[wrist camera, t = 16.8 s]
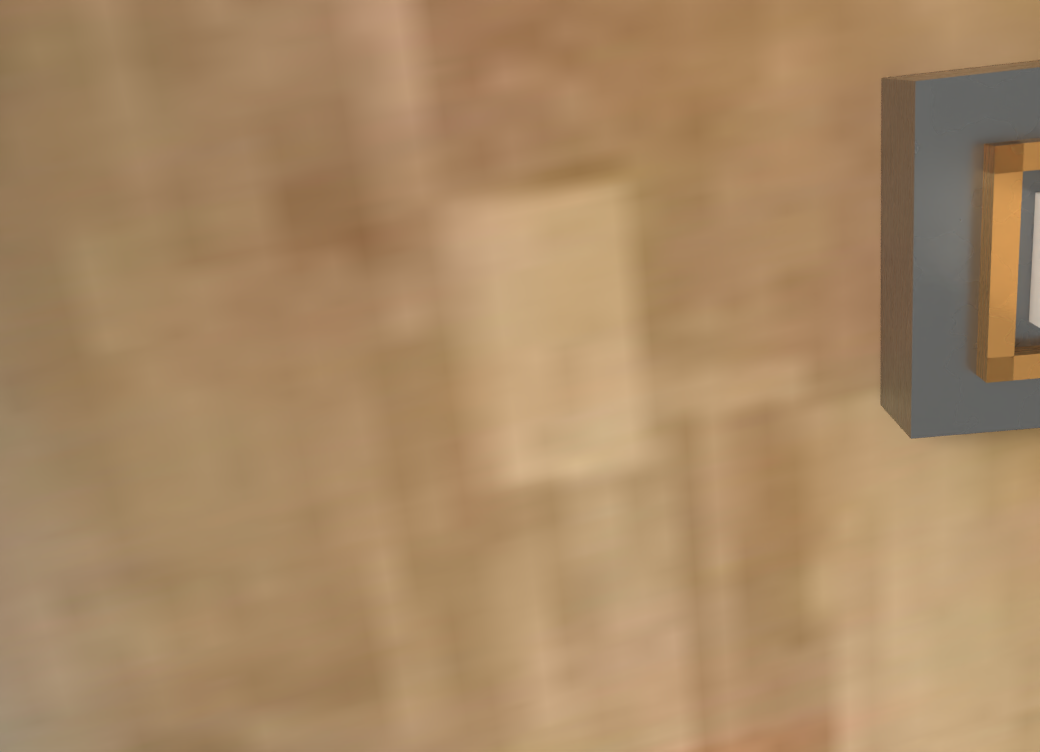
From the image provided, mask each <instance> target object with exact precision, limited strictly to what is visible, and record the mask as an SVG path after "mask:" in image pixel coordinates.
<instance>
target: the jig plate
mask: <svg viewBox="0 0 1040 752" xmlns="http://www.w3.org/2000/svg"><path fill="white" fill-rule="evenodd" d="M1036 192H1040V60H1038V61H1029V62H1020V63H1011V64H1002V65H993V66H985V67H976V68H967V69H958V70H949V71H940V72H931V73H922V74H914V75H905V76H896V77H887V78H882V131H881V406H882V407H883V408H884V409H885V410H886V411H887V412H888V414H889V415H890V416H891V417H892V418H893V419H894V420H895V421H896V422H897V424H898V425H899V426H900V427H901V428H902V429H903V430H904V431H905V433H906V434H907V435H908V436H909V437H910V438H911V439H912V438H924V437H935V436H947V435H959V434H970V433H982V432H994V431H1006V430H1017V429H1029V428H1040V328H1039V327H1037V326H1036V325H1034V324H1032V323H1031V322H1029V309H1030V289H1031V270H1032V250H1033V231H1034V211H1035V193H1036Z"/></svg>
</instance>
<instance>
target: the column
mask: <svg viewBox="0 0 1040 752" xmlns="http://www.w3.org/2000/svg"><path fill="white" fill-rule="evenodd" d="M1029 322H1031V323H1032V324H1034V325H1036V326H1037V327H1039V328H1040V192H1036V193H1035V211H1034V231H1033V250H1032V270H1031V289H1030V309H1029Z"/></svg>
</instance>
